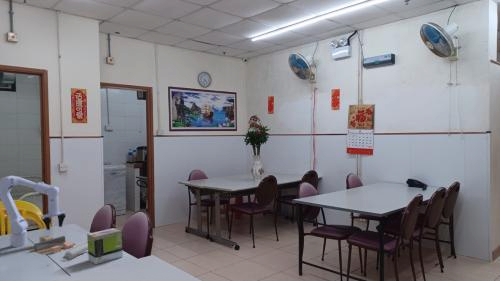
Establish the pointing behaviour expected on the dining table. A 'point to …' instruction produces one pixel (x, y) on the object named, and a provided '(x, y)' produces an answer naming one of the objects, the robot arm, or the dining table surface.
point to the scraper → (48, 242)
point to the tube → (76, 251)
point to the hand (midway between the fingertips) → (54, 228)
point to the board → (44, 249)
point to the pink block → (55, 249)
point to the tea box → (104, 245)
